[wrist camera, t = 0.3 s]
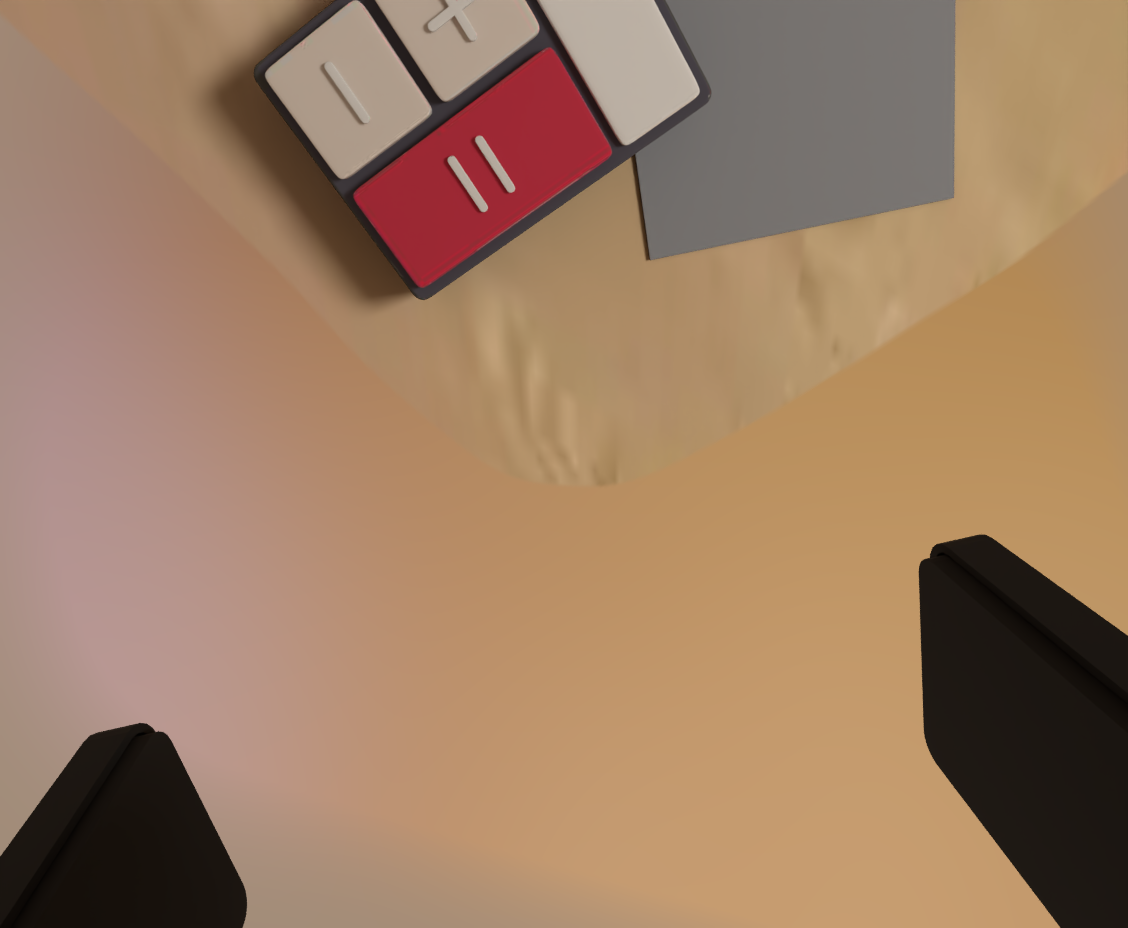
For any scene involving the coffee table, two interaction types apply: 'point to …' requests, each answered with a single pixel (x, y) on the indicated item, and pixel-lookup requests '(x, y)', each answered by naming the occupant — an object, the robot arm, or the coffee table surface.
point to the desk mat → (803, 119)
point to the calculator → (476, 113)
